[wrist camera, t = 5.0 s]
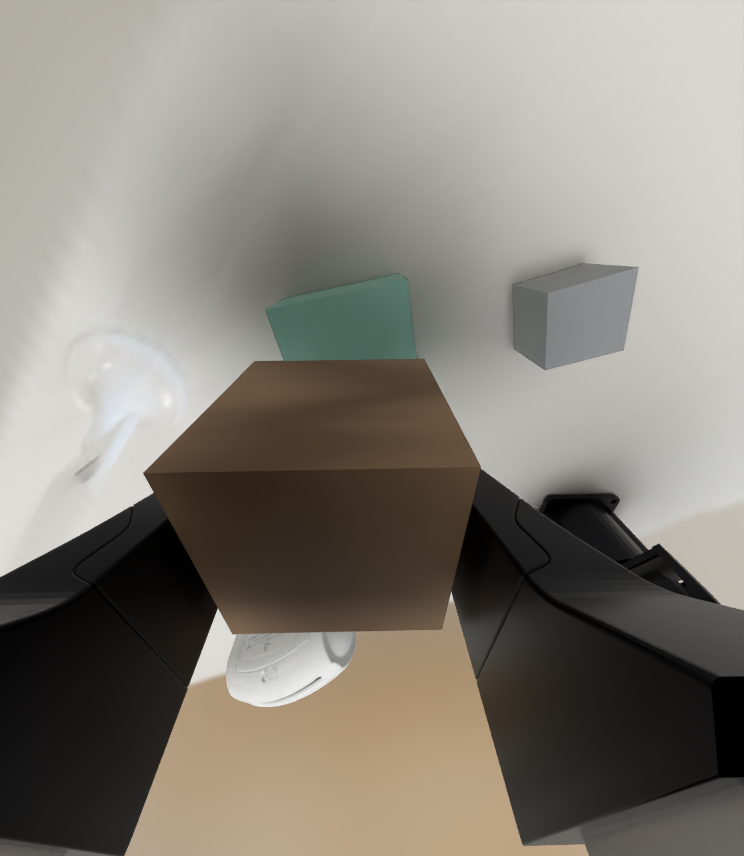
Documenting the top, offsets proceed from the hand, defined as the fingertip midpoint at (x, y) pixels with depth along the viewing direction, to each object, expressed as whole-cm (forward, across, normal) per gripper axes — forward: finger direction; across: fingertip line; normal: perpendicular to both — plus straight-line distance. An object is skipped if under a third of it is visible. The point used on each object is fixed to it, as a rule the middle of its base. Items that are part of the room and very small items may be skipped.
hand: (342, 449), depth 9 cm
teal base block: (+12, 0, 0) cm, 12 cm away
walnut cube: (+1, 0, 0) cm, 1 cm away
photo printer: (+12, +5, +19) cm, 23 cm away
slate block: (+12, -12, -2) cm, 17 cm away
